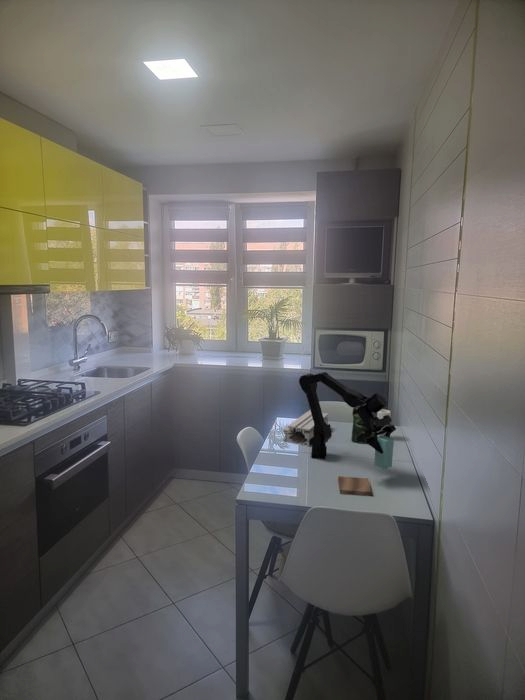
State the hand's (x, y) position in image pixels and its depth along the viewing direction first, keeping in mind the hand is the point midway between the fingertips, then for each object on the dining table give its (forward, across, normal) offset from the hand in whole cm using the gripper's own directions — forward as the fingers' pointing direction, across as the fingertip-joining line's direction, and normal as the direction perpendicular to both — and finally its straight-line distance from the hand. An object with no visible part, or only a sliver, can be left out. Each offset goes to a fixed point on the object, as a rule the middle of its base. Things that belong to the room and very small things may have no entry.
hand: (386, 451), depth 175 cm
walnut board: (+7, -16, +10) cm, 20 cm away
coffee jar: (-18, +26, +36) cm, 47 cm away
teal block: (+4, 0, +6) cm, 7 cm away
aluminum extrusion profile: (-33, +7, +52) cm, 61 cm away
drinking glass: (-16, +38, +34) cm, 53 cm away
